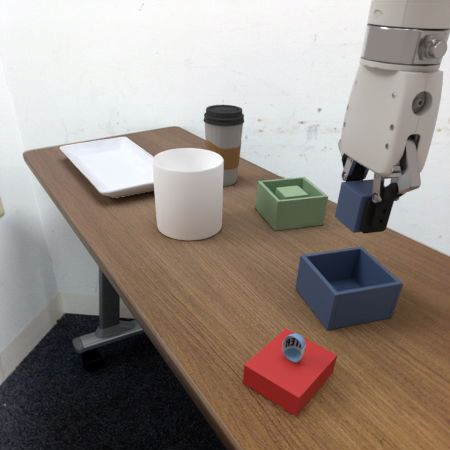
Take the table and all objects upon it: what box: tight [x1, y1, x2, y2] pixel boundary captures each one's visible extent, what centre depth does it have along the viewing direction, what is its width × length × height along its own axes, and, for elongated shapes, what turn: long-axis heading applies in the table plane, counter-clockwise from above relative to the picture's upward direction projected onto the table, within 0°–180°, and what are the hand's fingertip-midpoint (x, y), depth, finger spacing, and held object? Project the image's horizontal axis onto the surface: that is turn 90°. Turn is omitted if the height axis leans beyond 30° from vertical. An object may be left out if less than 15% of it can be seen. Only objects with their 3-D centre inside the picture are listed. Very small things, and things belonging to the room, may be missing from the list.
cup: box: [152, 147, 224, 242], centre depth 73 cm, size 12×12×12 cm
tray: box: [59, 136, 154, 199], centre depth 95 cm, size 17×32×4 cm, turn 31°
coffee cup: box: [203, 104, 245, 187], centre depth 90 cm, size 8×8×15 cm
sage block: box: [275, 186, 308, 200], centre depth 79 cm, size 4×4×4 cm
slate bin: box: [295, 246, 404, 331], centre depth 58 cm, size 10×10×6 cm
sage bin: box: [255, 176, 329, 232], centre depth 79 cm, size 10×10×6 cm
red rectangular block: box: [242, 328, 338, 417], centre depth 46 cm, size 8×7×6 cm
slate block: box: [334, 178, 386, 234], centre depth 51 cm, size 4×4×4 cm
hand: (360, 220), depth 52 cm, fingers closed on slate block, 4 cm apart
